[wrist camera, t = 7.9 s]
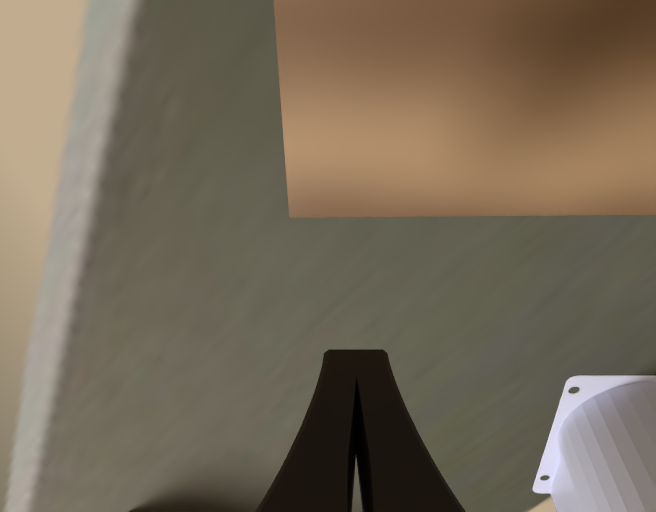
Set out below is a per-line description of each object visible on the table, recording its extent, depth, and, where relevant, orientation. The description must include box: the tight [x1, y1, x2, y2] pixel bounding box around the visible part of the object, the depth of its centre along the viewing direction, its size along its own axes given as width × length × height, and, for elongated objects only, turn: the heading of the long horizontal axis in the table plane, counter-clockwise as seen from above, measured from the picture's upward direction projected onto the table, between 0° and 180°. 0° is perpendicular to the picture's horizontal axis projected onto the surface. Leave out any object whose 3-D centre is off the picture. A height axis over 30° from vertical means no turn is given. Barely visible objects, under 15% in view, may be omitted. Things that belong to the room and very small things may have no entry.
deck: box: [273, 0, 656, 218], centre depth 16 cm, size 11×14×3 cm
